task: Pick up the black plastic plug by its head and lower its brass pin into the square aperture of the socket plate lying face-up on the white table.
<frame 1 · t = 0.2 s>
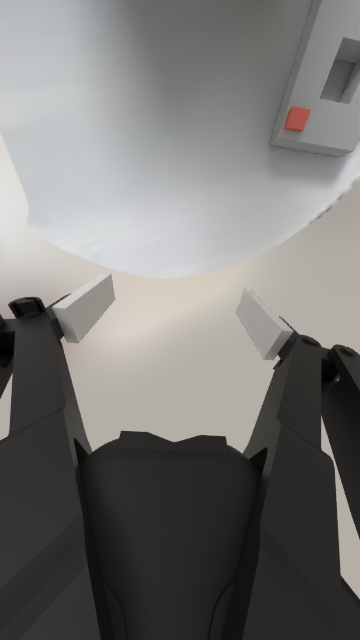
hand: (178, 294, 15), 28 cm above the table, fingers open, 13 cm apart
socket plate: (329, 88, 24), on the table
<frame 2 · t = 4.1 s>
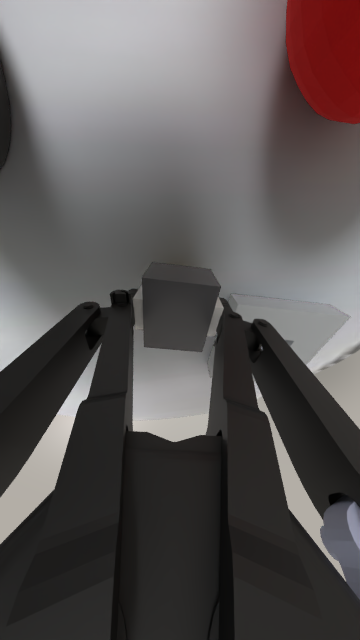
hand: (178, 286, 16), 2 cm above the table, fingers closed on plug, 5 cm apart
plug: (178, 280, 18), on the table, touching gripper
tomato: (359, 6, 9), on the table
socket plate: (259, 338, 24), on the table
when the fingers open (4 cm above the table, at t = 7.8 s): plug drops 2 cm, resting in socket plate.
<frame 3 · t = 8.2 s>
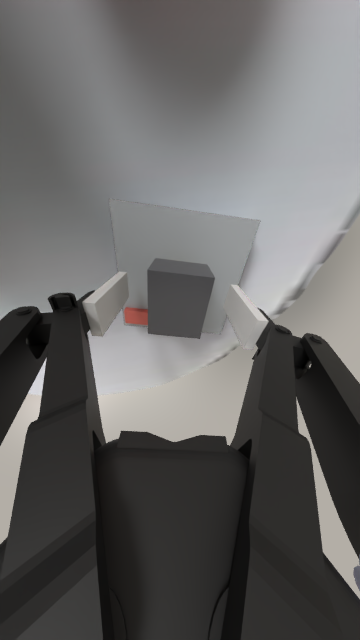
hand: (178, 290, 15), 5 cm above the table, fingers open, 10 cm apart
plug: (178, 275, 20), resting in socket plate
socket plate: (179, 275, 20), on the table
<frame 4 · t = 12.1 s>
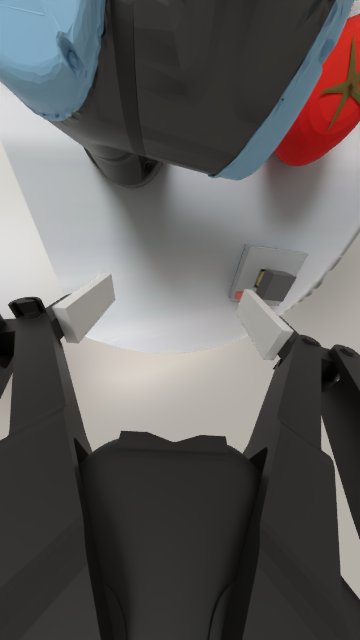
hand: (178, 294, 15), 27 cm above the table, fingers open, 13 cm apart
plug: (260, 276, 40), resting in socket plate
tomato: (296, 126, 26), on the table
socket plate: (260, 276, 40), on the table
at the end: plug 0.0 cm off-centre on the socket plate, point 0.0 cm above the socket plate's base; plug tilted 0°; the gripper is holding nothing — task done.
